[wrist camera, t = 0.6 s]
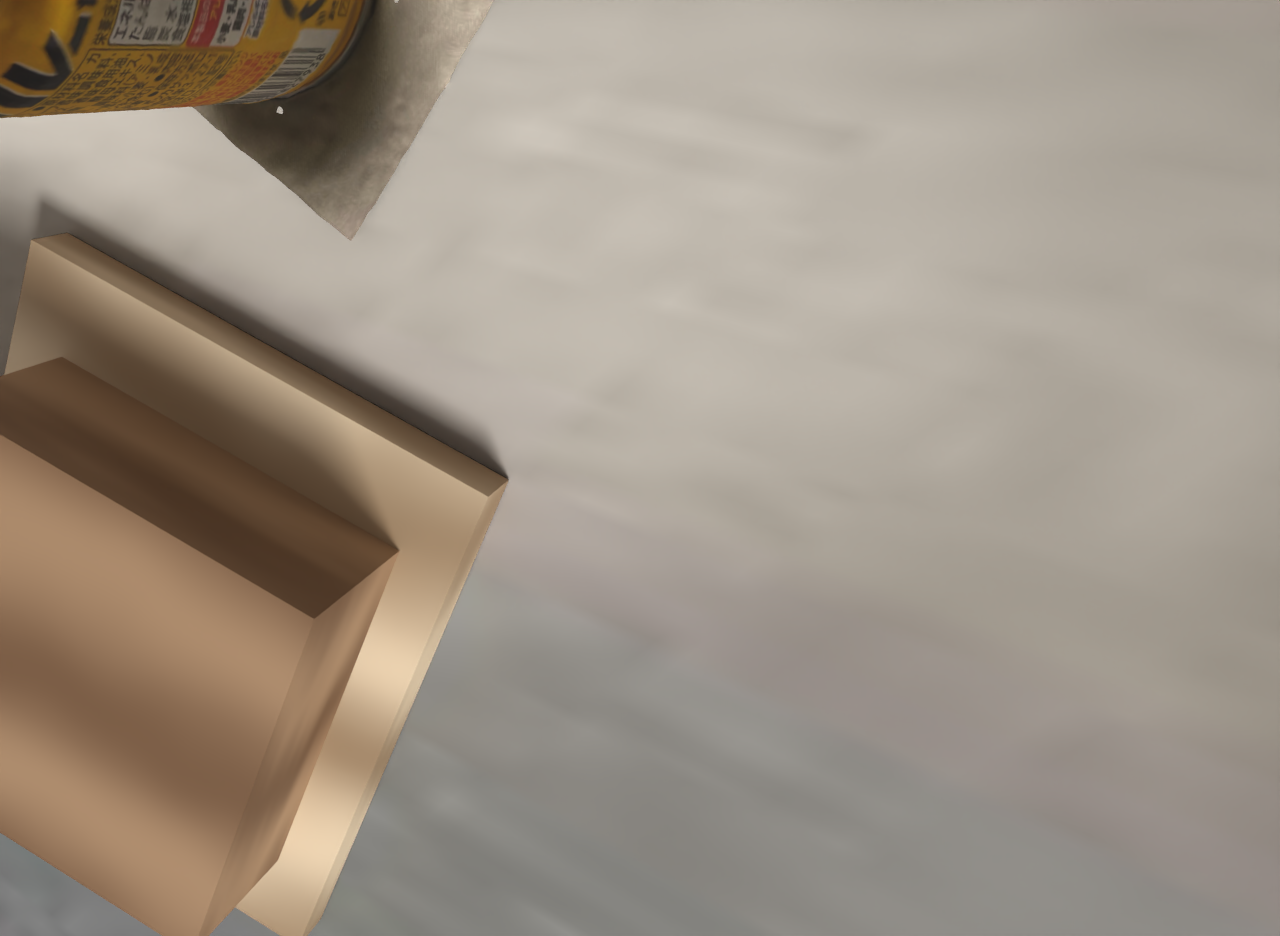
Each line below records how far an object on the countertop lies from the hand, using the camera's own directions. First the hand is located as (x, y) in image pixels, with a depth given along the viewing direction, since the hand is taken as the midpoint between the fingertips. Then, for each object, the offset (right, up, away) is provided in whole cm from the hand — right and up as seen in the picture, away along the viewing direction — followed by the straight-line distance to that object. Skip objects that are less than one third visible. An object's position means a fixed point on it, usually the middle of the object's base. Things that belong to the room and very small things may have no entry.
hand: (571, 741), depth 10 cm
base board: (-11, -1, +22) cm, 25 cm away
